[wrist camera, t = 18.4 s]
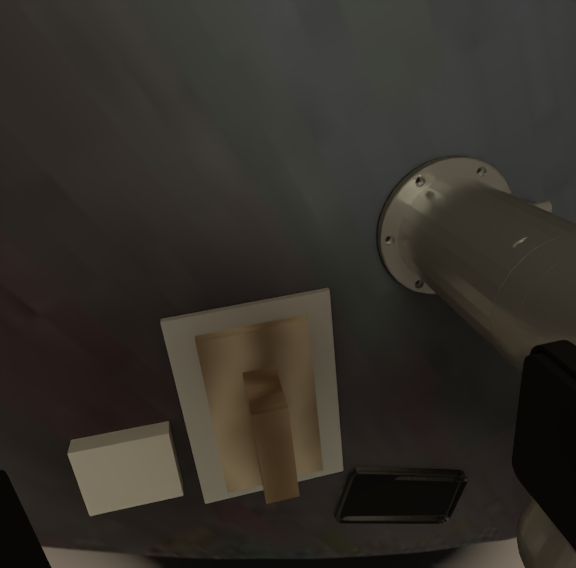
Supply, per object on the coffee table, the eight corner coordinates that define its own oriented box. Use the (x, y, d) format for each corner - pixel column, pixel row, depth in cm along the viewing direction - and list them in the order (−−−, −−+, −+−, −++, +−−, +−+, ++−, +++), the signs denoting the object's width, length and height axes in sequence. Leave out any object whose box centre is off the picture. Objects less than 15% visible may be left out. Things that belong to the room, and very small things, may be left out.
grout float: (305, 314, 46) (326, 357, 40) (320, 462, 54) (340, 517, 48) (194, 335, 45) (198, 383, 38) (226, 483, 53) (234, 544, 46)
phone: (447, 523, 62) (333, 523, 58) (443, 516, 63) (330, 515, 59) (470, 474, 60) (352, 470, 55) (465, 467, 61) (349, 463, 56)
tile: (168, 433, 47) (183, 495, 51) (168, 419, 49) (183, 480, 53) (67, 453, 46) (89, 516, 49) (71, 438, 48) (92, 499, 51)
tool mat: (327, 287, 46) (329, 290, 46) (341, 466, 56) (343, 470, 55) (160, 318, 44) (160, 322, 44) (204, 499, 54) (205, 503, 53)
